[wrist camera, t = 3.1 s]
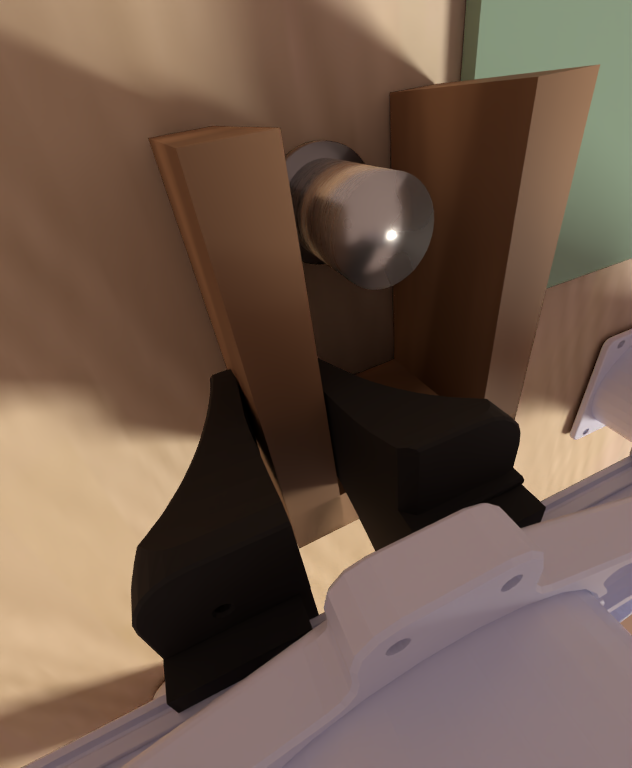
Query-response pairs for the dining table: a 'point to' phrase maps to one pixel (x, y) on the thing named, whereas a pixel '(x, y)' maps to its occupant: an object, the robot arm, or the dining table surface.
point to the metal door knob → (358, 214)
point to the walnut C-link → (410, 296)
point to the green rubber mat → (605, 118)
